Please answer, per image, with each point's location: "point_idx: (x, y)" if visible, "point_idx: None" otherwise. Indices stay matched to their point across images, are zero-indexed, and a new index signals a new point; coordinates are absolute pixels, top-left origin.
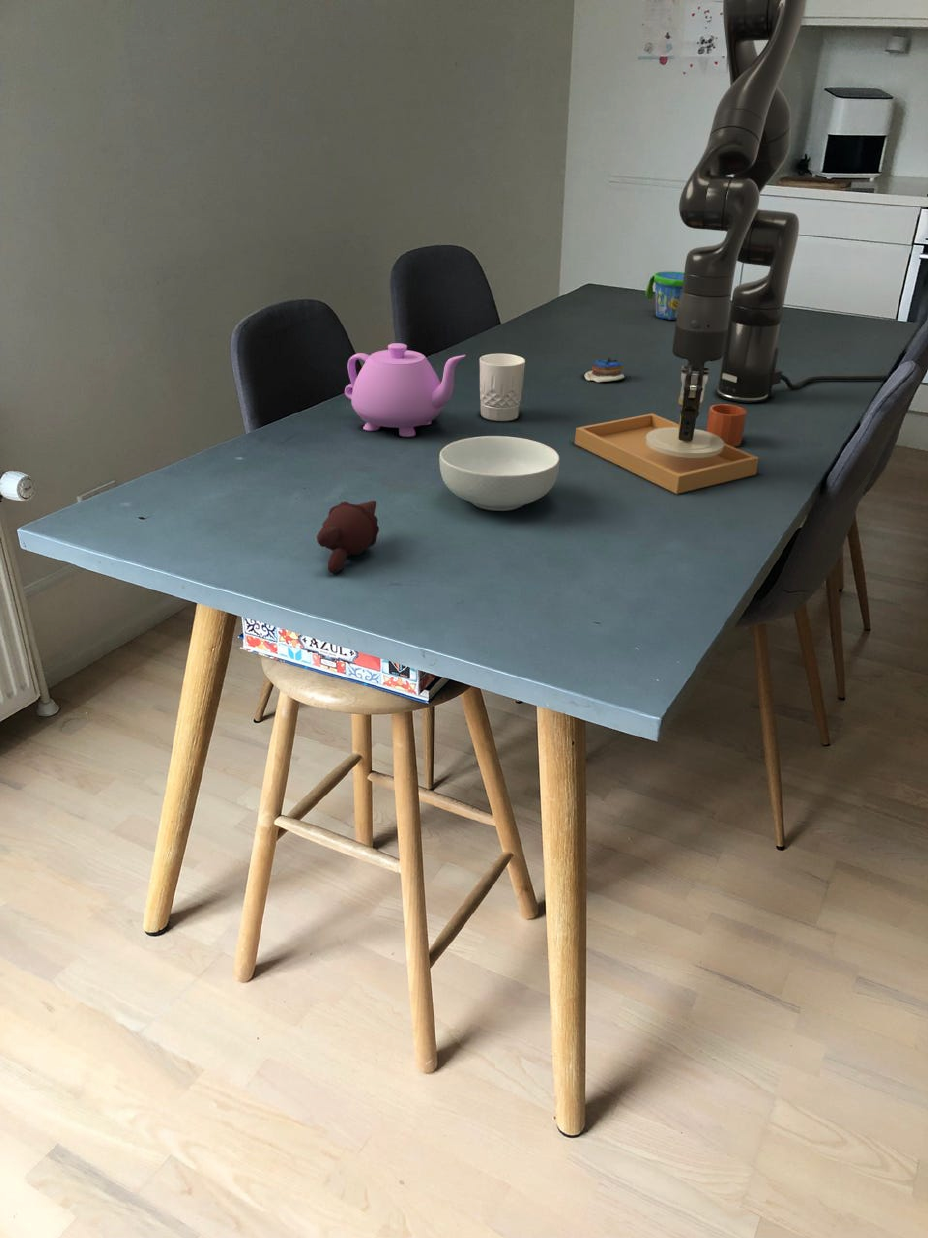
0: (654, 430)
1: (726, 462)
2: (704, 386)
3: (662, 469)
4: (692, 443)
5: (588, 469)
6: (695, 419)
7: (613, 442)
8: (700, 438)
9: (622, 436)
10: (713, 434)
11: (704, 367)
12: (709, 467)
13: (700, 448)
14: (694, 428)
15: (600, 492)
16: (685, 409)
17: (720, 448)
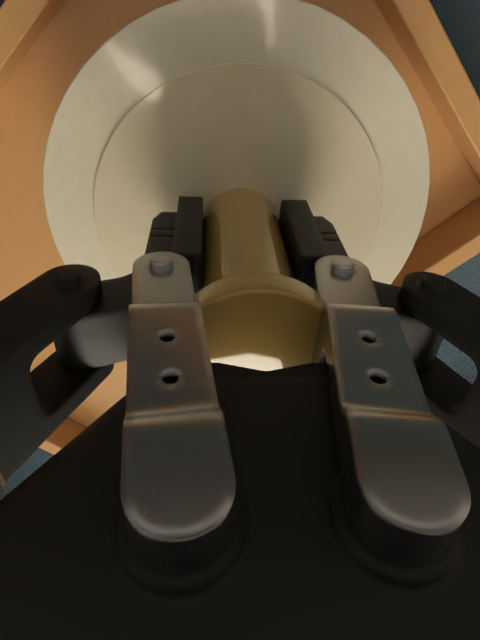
0: None
1: None
2: (423, 401)
3: (450, 269)
4: (300, 190)
5: None
6: (327, 254)
7: (103, 384)
8: (211, 147)
9: (31, 368)
10: (97, 62)
11: (189, 568)
12: (447, 79)
13: (373, 150)
14: (316, 226)
15: (463, 372)
16: (428, 366)
17: (350, 25)
